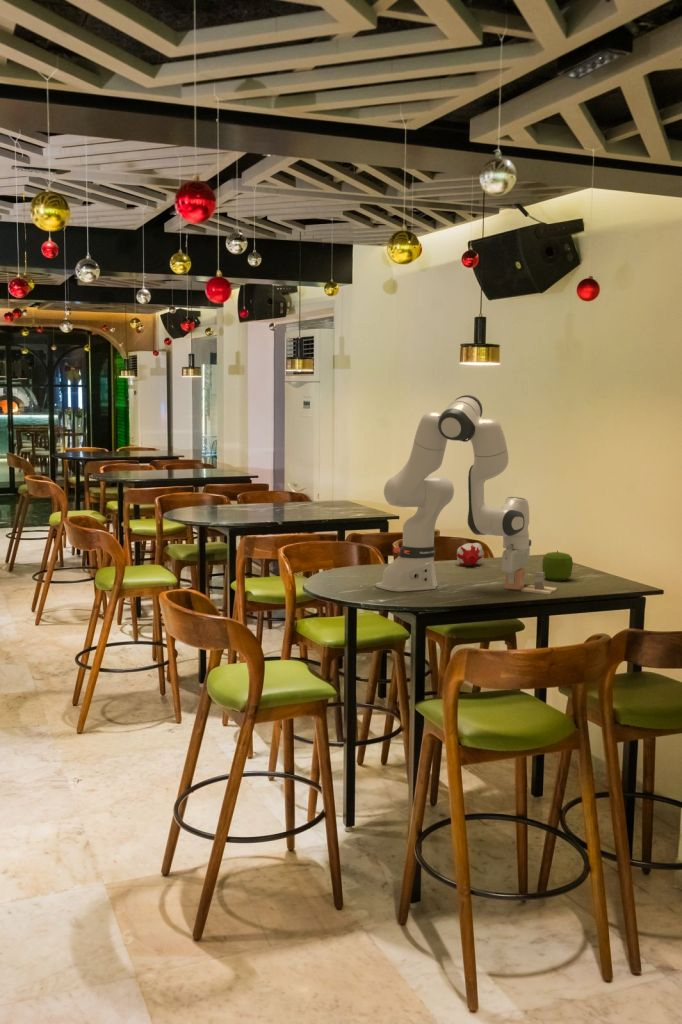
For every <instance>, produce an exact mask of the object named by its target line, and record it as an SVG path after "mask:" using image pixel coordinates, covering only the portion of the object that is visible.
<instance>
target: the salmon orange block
mask: <svg viewBox="0 0 682 1024" xmlns="http://www.w3.org/2000/svg"><path fill="white" fill-rule="evenodd" d="M525 569H526V568H522V569H518V570H516V571H514V578H515V583H513V584H509V578H508V575H507V573H505V586H504V588H505V589H507V590H508V589H509V590H519V591H521V589H523V588H525Z"/></svg>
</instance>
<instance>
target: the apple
mask: <svg viewBox="0 0 682 1024" xmlns="http://www.w3.org/2000/svg"><path fill="white" fill-rule="evenodd" d="M542 572H545V576H544V578H546V579H547V580H549V581H554V582H561V581H565V580H567V579H569V578H570V577H572V572H573V557H572V556H571V555H570V554H569V553H565V552H559V550H557V551H552V552H547V553H546V554H544V555H543V559H542Z"/></svg>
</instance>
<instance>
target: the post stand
mask: <svg viewBox="0 0 682 1024" xmlns="http://www.w3.org/2000/svg"><path fill="white" fill-rule="evenodd" d="M557 590H558V587H555V586H554V587H553V586H545V572H543V571H535V573H534V585H532V584H528V585H527V586H524V588H522V589H520V592H524V593H534V594H543V595H545V594H546V595H550V594H552V593H554V592H555V591H557Z"/></svg>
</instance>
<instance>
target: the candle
mask: <svg viewBox="0 0 682 1024" xmlns="http://www.w3.org/2000/svg"><path fill="white" fill-rule="evenodd" d="M484 555H485V553H484V550H483V546H482V544H481V543H480V542H473V543H471V542H468V543H464V544H463V545H461V546H459V547H458V548H457V550H456V554H455V556H456V559H457V561H458V562H459V564H460V565H461V566H470V567H474V566H476V565H477V566H480V565H481V564H482V562H483V560H484V558H485V556H484Z"/></svg>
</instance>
